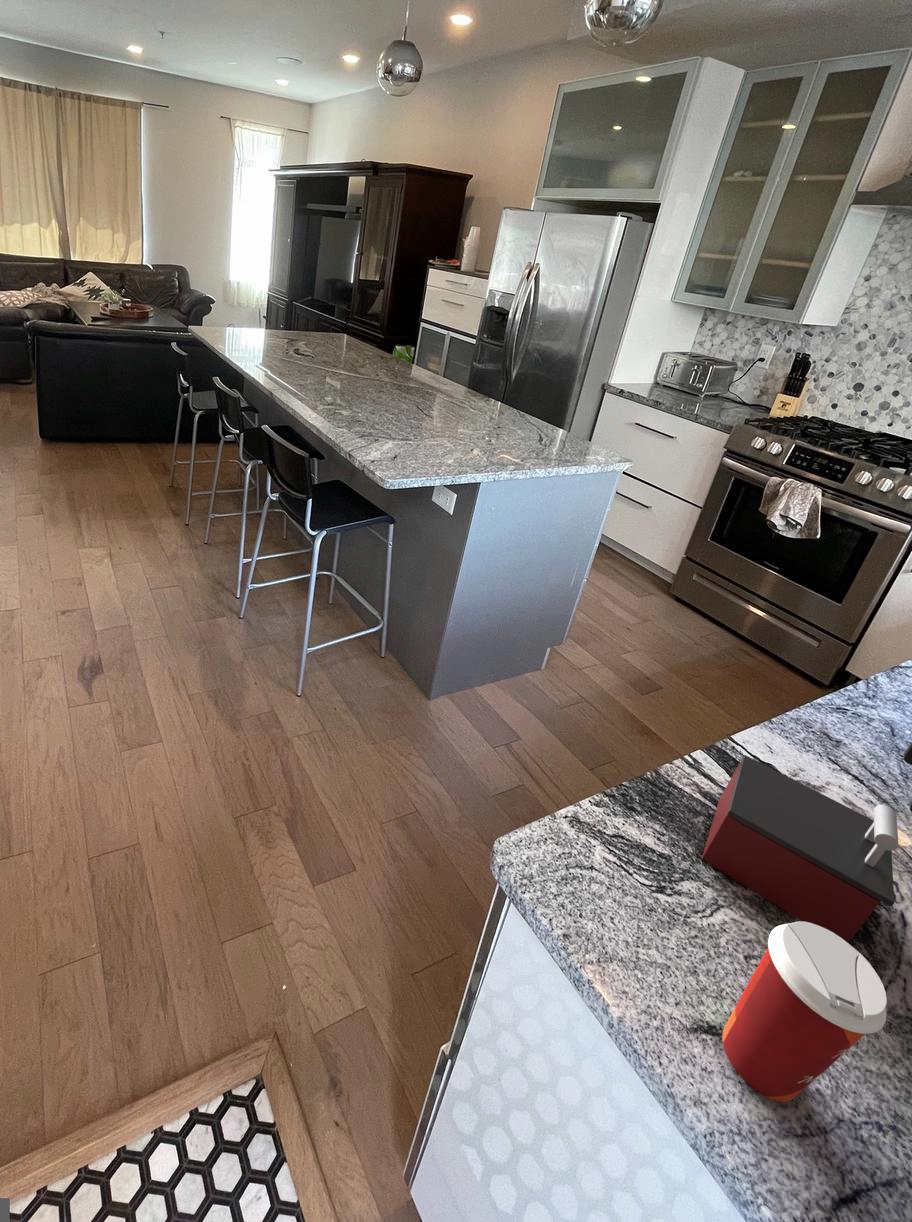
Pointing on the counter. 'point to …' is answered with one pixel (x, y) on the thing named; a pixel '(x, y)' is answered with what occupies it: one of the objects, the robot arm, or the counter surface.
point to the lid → (818, 827)
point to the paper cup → (802, 1010)
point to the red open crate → (784, 874)
